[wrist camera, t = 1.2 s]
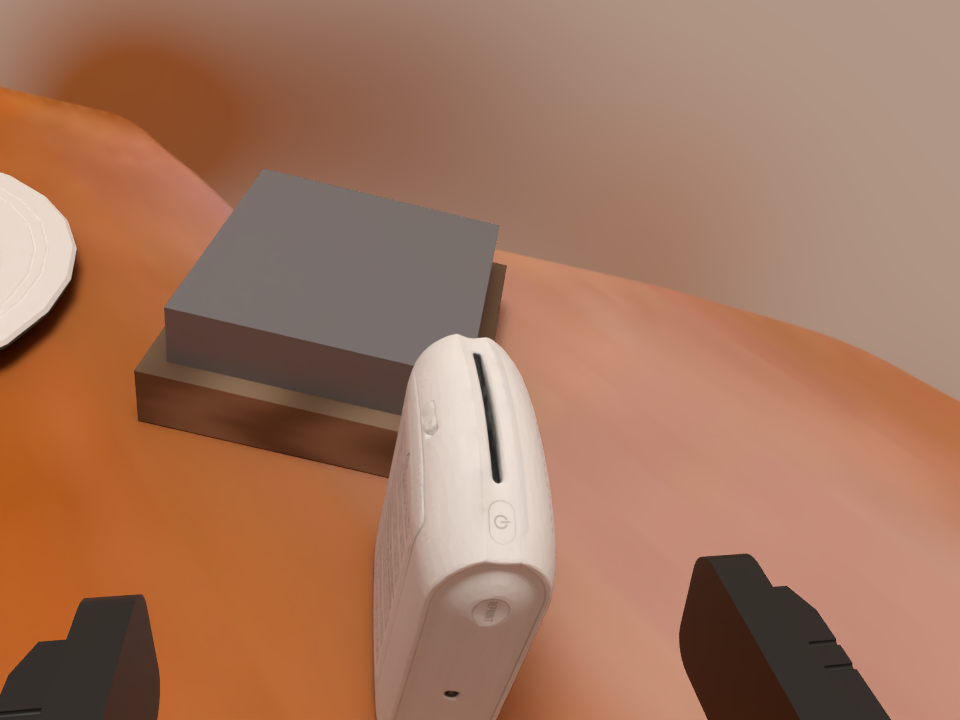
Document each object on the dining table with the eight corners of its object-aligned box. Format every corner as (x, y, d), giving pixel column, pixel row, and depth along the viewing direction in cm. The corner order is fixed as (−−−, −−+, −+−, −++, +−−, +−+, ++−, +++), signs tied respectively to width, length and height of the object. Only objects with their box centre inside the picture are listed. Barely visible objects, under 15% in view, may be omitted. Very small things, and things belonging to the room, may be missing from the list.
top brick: (167, 361, 36) (164, 307, 35) (261, 216, 47) (263, 168, 45) (456, 428, 37) (469, 378, 35) (487, 270, 47) (499, 225, 45)
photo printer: (493, 771, 29) (596, 557, 21) (369, 773, 28) (429, 551, 20) (467, 531, 37) (535, 309, 29) (369, 526, 36) (412, 296, 28)
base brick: (138, 420, 38) (134, 370, 36) (248, 248, 49) (249, 203, 47) (462, 494, 38) (475, 449, 36) (495, 306, 50) (506, 265, 48)
